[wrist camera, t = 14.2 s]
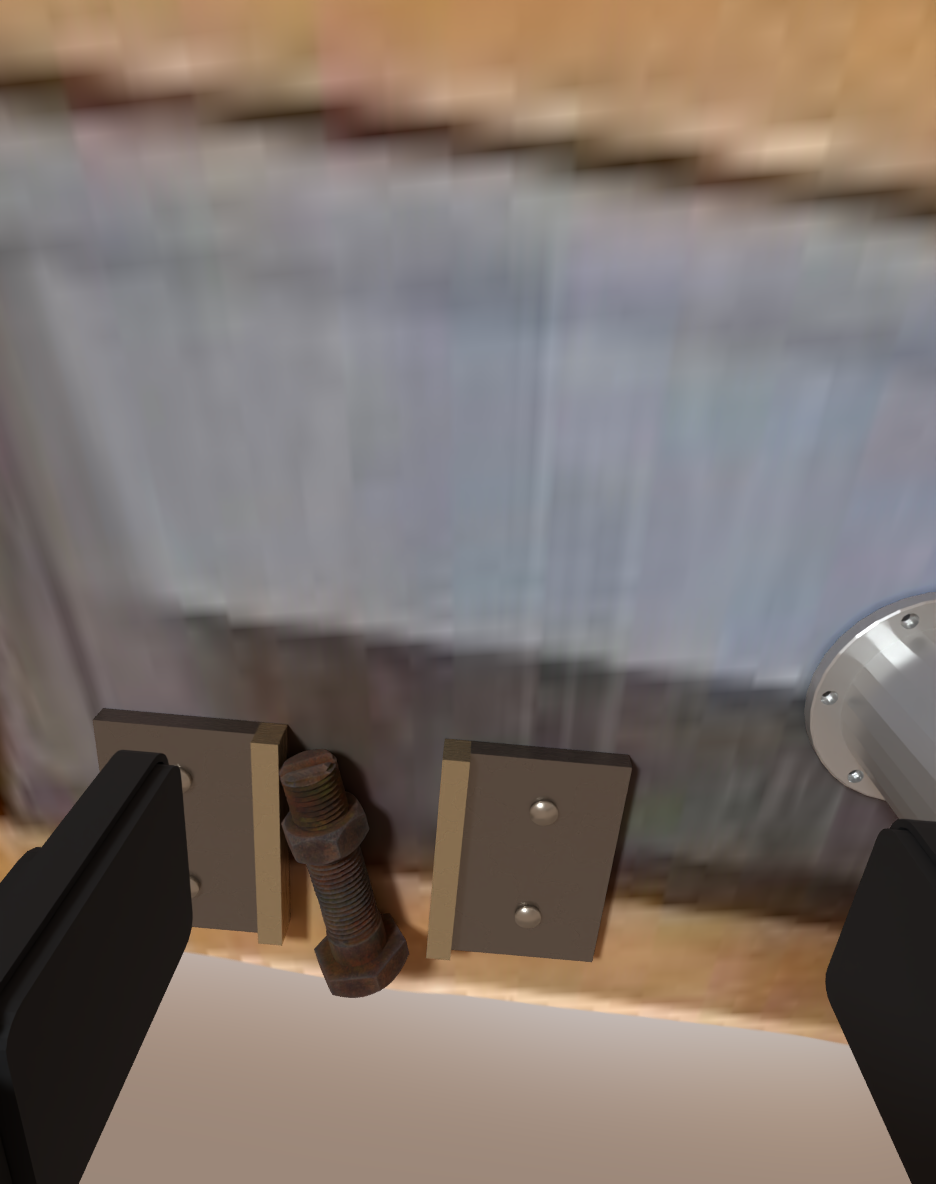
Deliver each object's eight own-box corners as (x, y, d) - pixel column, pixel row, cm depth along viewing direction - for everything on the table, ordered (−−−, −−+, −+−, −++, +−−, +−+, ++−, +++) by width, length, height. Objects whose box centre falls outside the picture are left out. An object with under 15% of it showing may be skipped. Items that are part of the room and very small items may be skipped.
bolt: (333, 722, 45) (385, 915, 51) (250, 755, 43) (313, 952, 49) (366, 765, 40) (420, 974, 46) (274, 804, 38) (341, 1017, 44)
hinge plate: (628, 754, 43) (634, 776, 41) (589, 946, 49) (593, 973, 47) (103, 708, 43) (85, 728, 41) (128, 905, 49) (114, 930, 47)
